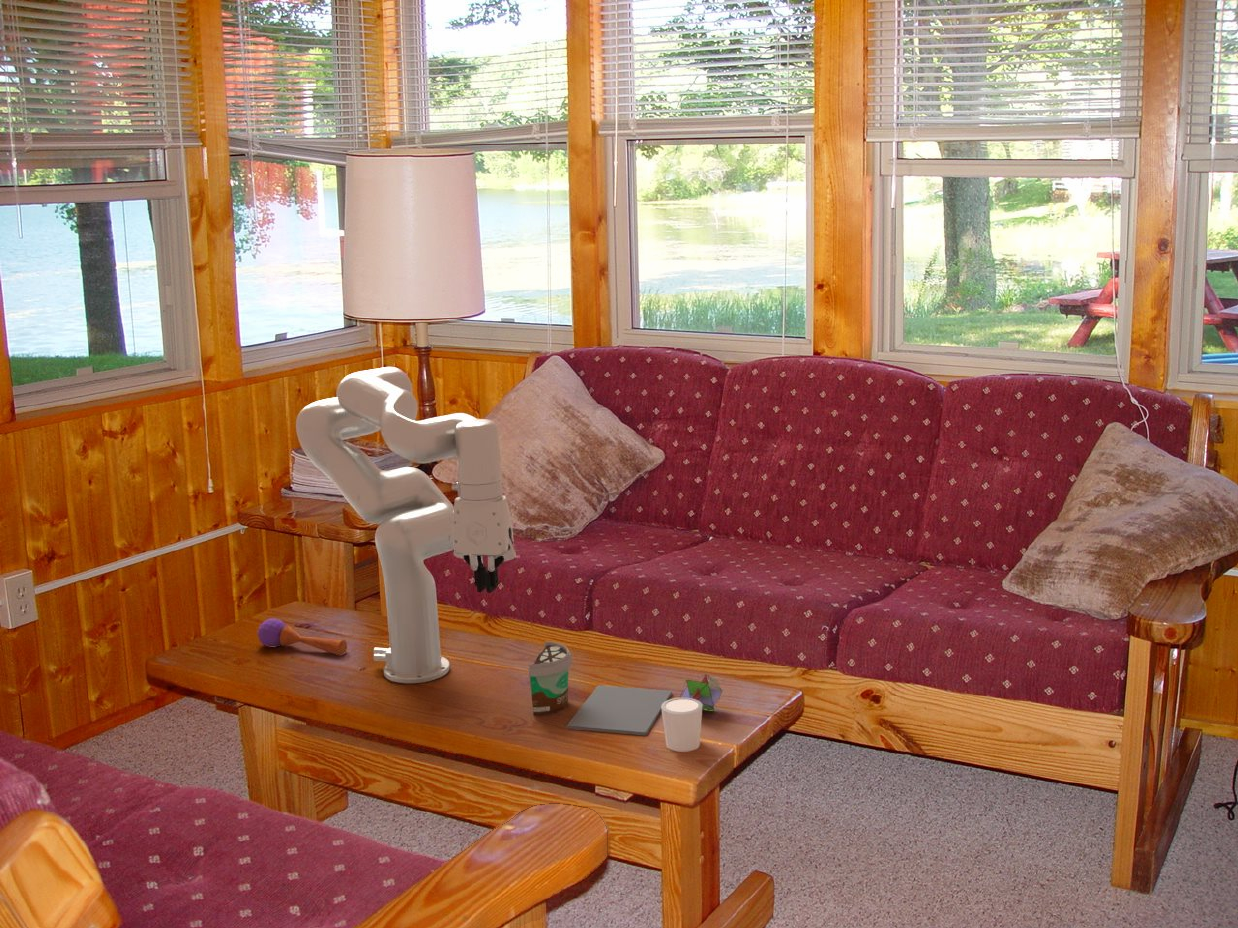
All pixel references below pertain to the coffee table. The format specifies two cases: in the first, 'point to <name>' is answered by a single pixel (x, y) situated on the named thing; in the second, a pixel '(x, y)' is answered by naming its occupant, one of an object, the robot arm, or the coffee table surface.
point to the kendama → (295, 637)
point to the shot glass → (682, 723)
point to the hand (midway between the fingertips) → (487, 589)
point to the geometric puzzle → (703, 692)
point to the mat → (620, 710)
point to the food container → (550, 679)
